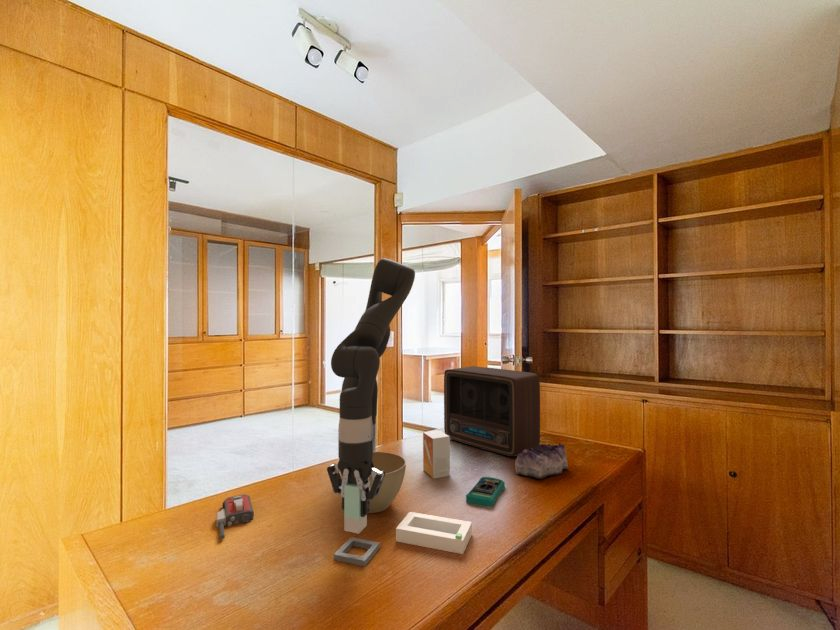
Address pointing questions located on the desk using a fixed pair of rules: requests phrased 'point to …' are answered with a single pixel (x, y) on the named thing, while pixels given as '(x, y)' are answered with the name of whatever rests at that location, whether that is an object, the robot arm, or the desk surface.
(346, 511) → the plug
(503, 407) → the radio
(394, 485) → the flower pot
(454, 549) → the port panel
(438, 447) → the small box
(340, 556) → the grey square ring
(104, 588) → the desk surface
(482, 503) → the digital multimeter
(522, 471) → the geode
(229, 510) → the walkie-talkie
